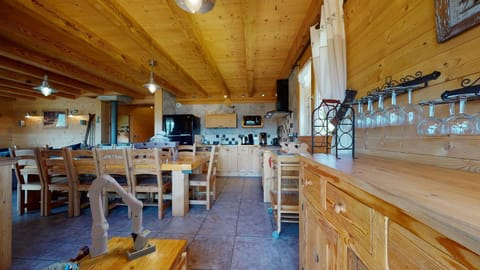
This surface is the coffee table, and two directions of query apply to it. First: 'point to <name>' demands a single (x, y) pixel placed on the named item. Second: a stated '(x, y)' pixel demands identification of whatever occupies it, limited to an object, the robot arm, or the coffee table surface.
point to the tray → (141, 252)
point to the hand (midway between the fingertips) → (136, 244)
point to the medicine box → (142, 240)
